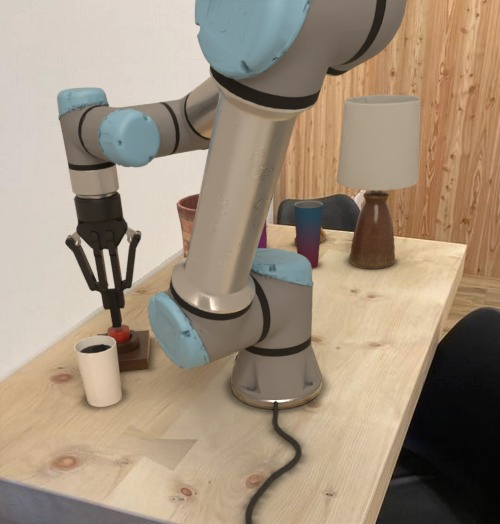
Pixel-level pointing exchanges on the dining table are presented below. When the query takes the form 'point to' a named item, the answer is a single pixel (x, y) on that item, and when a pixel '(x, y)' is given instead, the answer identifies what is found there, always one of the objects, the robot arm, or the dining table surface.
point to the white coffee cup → (99, 370)
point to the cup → (308, 229)
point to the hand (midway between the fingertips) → (117, 324)
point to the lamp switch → (119, 333)
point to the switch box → (133, 351)
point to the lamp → (378, 167)
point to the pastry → (322, 236)
